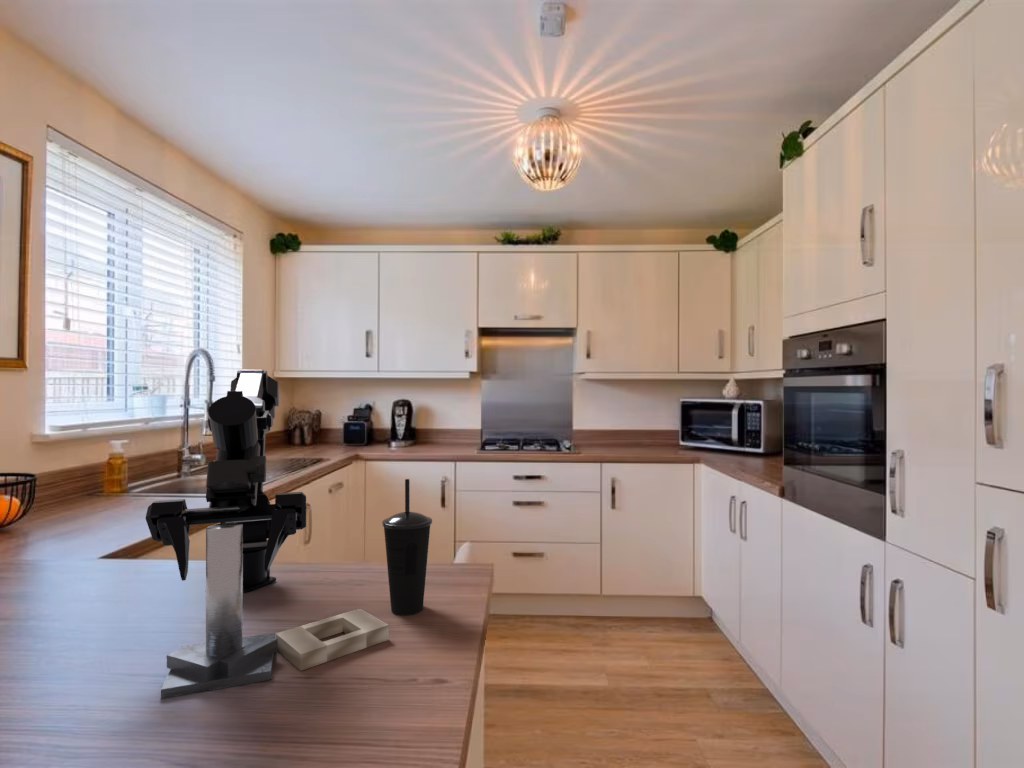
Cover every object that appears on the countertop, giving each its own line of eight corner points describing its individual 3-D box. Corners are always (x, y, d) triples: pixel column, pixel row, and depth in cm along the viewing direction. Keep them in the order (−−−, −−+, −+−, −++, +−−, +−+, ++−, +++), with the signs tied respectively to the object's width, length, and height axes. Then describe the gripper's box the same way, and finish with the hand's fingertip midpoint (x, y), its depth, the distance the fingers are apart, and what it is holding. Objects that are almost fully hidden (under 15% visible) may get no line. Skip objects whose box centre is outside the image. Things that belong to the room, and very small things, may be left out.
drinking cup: (441, 604, 86) (441, 477, 87) (413, 622, 79) (413, 484, 80) (401, 596, 90) (401, 474, 90) (371, 613, 83) (371, 481, 83)
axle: (236, 646, 70) (237, 521, 70) (246, 657, 67) (247, 526, 67) (201, 657, 67) (202, 526, 67) (210, 669, 64) (211, 532, 64)
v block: (177, 654, 70) (177, 635, 70) (279, 639, 74) (279, 621, 74) (155, 699, 60) (155, 676, 60) (275, 678, 64) (275, 657, 64)
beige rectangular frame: (300, 671, 66) (300, 654, 66) (275, 648, 71) (275, 633, 71) (388, 639, 74) (388, 624, 74) (359, 622, 80) (359, 608, 80)
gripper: (149, 438, 70) (122, 548, 59) (306, 433, 76) (306, 532, 66) (164, 489, 77) (142, 595, 67) (306, 481, 84) (305, 577, 73)
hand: (225, 574), depth 68 cm, fingers open, 9 cm apart
